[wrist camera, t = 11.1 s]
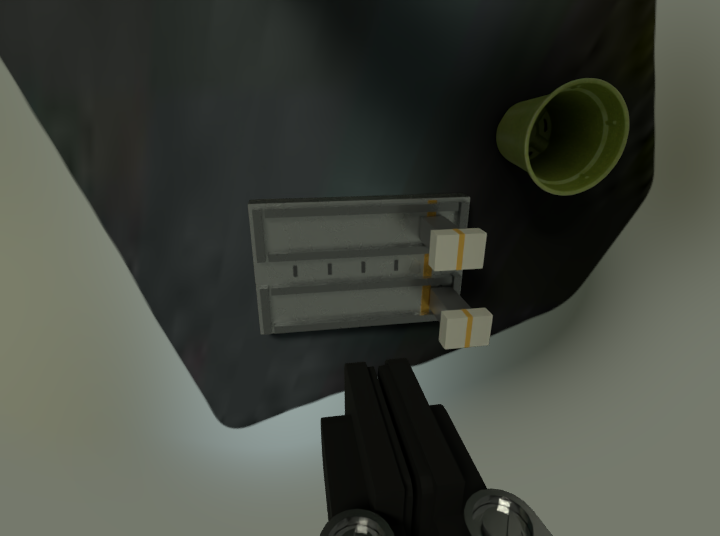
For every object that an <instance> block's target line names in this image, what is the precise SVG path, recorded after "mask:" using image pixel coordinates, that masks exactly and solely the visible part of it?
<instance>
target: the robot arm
mask: <svg viewBox="0 0 720 536" xmlns="http://www.w3.org/2000/svg"><path fill="white" fill-rule="evenodd" d="M344 375H345V415H342V416H333V417H324V418H321V439H322V457H323V469H324V481H325V489H326V490H325V491H326V501H327V511H328V520H329V522H327V524H326V525H325V527H324V528H323V530H322V532H321V534H320V536H552V534H551V533H550V532H549V530H548V529H547V528H546V526H545V525H544V524H543V523H542V521H541V520H540V519H539V517H538V516H537V515H536V514H535V512H534V511H533V510H532V509H531V508H530V507H529V506H528V505H527V504H526V503H525V502H524V501H523V500H521V499H520V498H518V497H517V496H515V495H513V494H511V493H509V492H506V491H503V490H498V489H487V488H486V486H485V484H484V482H483V480H482V478H481V476H480V474H479V472H478V471H477V468H476V466H475V465H474V463H473V461H472V459H471V457H470V455H469V453H468V451H467V449H466V447H465V445H464V444H463V442H462V440H461V438H460V436H459V434H458V432H457V430H456V428H455V426H454V425H453V422H452V421H451V419H450V417H449V415H448V413H447V411H446V409H445V408H444V406H443V405H441V404H438V405H429V404H428V402H427V400H426V398H425V396H424V393H423V391H422V389H421V387H420V385H419V383H418V381H417V379H416V377H415V374H414V372H413V371H412V368H411V366H410V364H409V362H408V360H407V358H399V359H389V360H386V361H385V365H383V366H379V368H378V378H377V375H376V372H375V369H374V367H367V365H366V362H357V363H346V364H345V367H344Z"/></svg>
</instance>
